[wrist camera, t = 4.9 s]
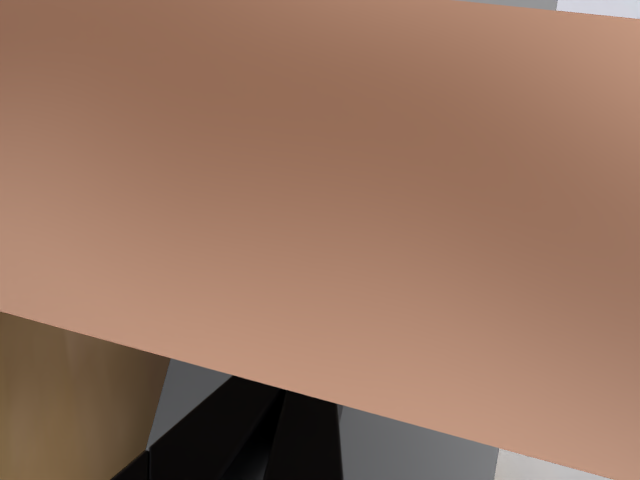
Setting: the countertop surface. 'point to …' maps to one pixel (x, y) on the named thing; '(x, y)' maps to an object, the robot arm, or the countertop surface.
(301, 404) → the robot arm
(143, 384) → the countertop surface
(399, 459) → the grooved grey tray
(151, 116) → the wooden rectangular block
